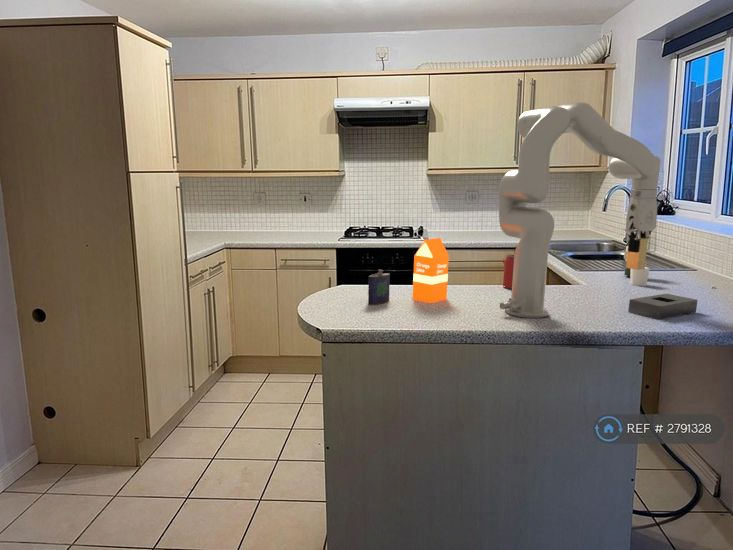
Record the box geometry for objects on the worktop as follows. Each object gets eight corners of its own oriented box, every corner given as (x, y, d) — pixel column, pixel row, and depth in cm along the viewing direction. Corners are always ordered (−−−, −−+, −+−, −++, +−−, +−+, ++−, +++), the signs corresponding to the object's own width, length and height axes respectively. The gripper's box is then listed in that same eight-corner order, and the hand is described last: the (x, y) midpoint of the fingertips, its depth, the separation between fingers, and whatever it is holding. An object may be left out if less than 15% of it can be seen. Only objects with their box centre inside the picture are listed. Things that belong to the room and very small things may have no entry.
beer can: (507, 285, 208) (509, 253, 206) (523, 287, 204) (526, 255, 202) (499, 287, 203) (501, 255, 201) (516, 290, 199) (518, 257, 197)
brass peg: (637, 269, 178) (640, 239, 176) (626, 267, 181) (629, 237, 180) (644, 268, 180) (648, 238, 178) (633, 266, 183) (636, 237, 182)
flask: (384, 299, 179) (386, 267, 177) (391, 301, 177) (393, 268, 175) (365, 304, 172) (366, 270, 170) (372, 305, 170) (373, 271, 168)
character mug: (628, 279, 227) (631, 248, 225) (615, 276, 234) (618, 245, 231) (649, 278, 231) (652, 247, 228) (635, 275, 237) (639, 245, 235)
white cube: (651, 286, 213) (653, 268, 212) (633, 286, 213) (635, 268, 212) (642, 283, 220) (644, 265, 218) (625, 282, 220) (627, 265, 218)
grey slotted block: (659, 319, 162) (660, 306, 162) (628, 311, 171) (629, 299, 170) (695, 312, 173) (697, 299, 172) (664, 305, 181) (666, 293, 180)
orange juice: (412, 298, 181) (414, 238, 177) (428, 295, 187) (430, 236, 183) (431, 303, 175) (434, 241, 172) (447, 299, 182) (450, 239, 178)
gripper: (638, 195, 169) (632, 254, 172) (669, 195, 177) (662, 251, 181) (616, 194, 175) (610, 251, 179) (647, 194, 184) (641, 248, 187)
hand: (637, 250), depth 180 cm, fingers closed on brass peg, 4 cm apart
